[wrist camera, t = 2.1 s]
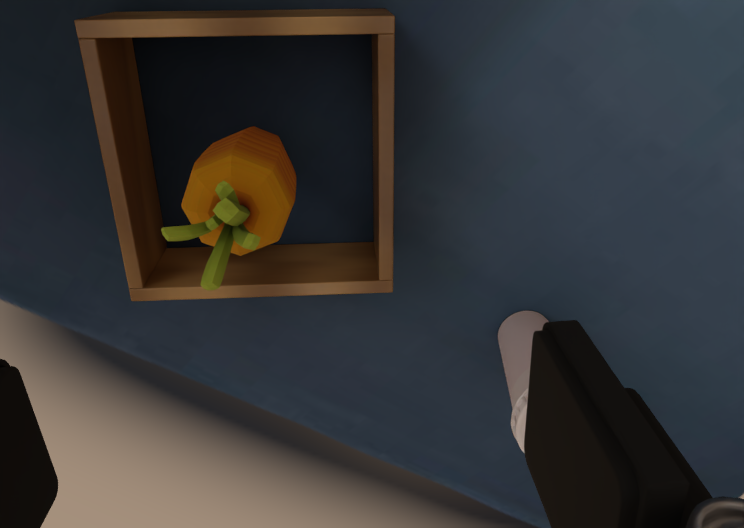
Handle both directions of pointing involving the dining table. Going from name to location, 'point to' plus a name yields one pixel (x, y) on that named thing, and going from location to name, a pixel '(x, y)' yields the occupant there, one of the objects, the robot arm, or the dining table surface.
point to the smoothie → (518, 363)
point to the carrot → (237, 198)
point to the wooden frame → (137, 177)
